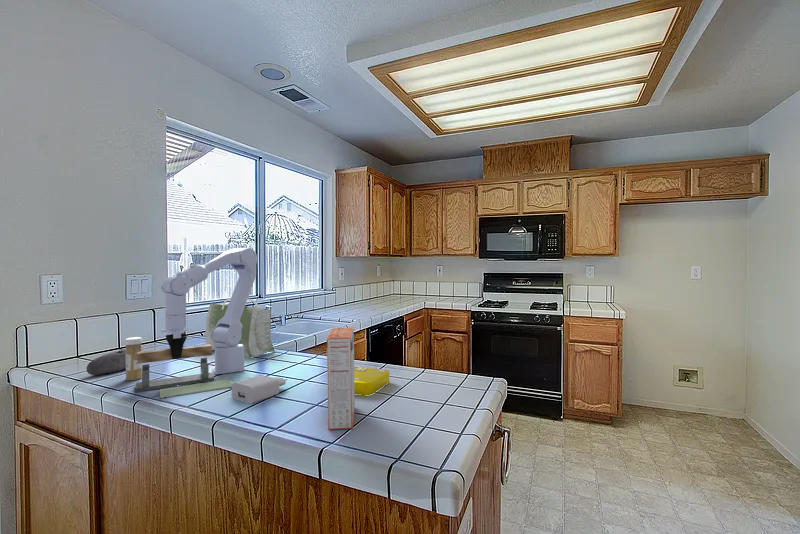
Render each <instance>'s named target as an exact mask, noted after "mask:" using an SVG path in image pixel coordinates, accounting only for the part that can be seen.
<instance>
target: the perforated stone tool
mask: <svg viewBox="0 0 800 534" xmlns="http://www.w3.org/2000/svg"><path fill="white" fill-rule="evenodd" d="M122 370H126V349H123V350H118V351H113V352H109V353H106V354H103V355H101V356H98V357H96V358H94V359H92V360H91V361H89V362H88V364H87V366H86V373H87V374H89V375H91V376H101V375H106V374H105V373H109V374H112V373H113V374H114V373H117V371H118V372H120V371H122Z"/></svg>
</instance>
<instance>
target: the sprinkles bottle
mask: <svg viewBox="0 0 800 534" xmlns="http://www.w3.org/2000/svg"><path fill="white" fill-rule="evenodd" d="M142 343H143V338H142V336H141V337H140V336H133V337H132V336H131V337H128V338H127V337H126V338H125V340H124V344H125V350H126V369H125V380H126V381H129V382H131V381H137V380H140V379H142V365H143V363H140V364H137V353H138V352H141V351H142ZM130 380H131V381H130Z"/></svg>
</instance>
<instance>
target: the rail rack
mask: <svg viewBox="0 0 800 534" xmlns="http://www.w3.org/2000/svg"><path fill="white" fill-rule="evenodd" d="M209 364H210V363H209V362H208V357H207V356H202V357H200V373H198V374H197V373H196V374H190V375H182V376H176V377H168V378H160V379H154V380H153V379H151V380H150V363H142V378H141V381H138V382H136V383H135V388H134V389H135V393H137V392H138V393H139V392H145V391H146V390H147V391H151V389H154V390H159V389H158V388H160V389H166V388H165V387H167V388H172V387H171V386H174V387H178V386H177V385H181V386H187V385H193V383H194V384H200V382H201V383H207V382H214V381H215V376H214V374H213V372H209V369H210V368H209V367H210V365H209ZM186 384H187V385H186ZM147 391H146V392H147Z"/></svg>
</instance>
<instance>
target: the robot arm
mask: <svg viewBox="0 0 800 534" xmlns="http://www.w3.org/2000/svg"><path fill="white" fill-rule="evenodd" d="M258 261H259V257H258V255H257V253H256V250H254V249H253V248H252V247H246V248H245V247H243V248H235V247H234V248H231V249H229V250H226V251H224V252H222V253H221V254H220V255H217V256H216V257H214V258H213V259H211V260H208V261H207V262H206V263H204V264H203V265H201V264H197V263H196V264H195V263H194V264H190V265H189V266H188V267H189V268H187V269H184V270H183V271H182V272H181V271H178V272H176V273H175V274H176V275H175V276H168V277H167V278H165V279H164V281H163V282H162V285H160V287H161V288H160V289H161V291H162V292H163V294H164V295H165V297H164V298H165V300H164V303H165V305H164V306H165V307H164V309H165V310H164V311H165V313H164V314H165V318H164V319H165V322H164V323H165V324H164V325H165V328H162V329H161V330H160V332H161V333H167V334H165V340H166V342H167V343H168V345H169V349H171V355H172V359H174V360H181V359H180V358H181V354H182V349H183V347H184V345H185V342H186V340H187V338H188V336H187V333H186V332H187V330H188V327H187V294H188V293H189V291H190V289H191V288H193V287H195V286H196V285H198V284H200V283H202V282H204V281H206V280H207V279H208V277H209V274H210V273H213V272H215V271H217V270H218V269H221V268H222V267H225V266H226V265H230V266H231V267H232V268H234V269H233V270H235V271H236V272H237V274H238V278H237V281H236V284H235V286H234V289H233V292H232V293H231V296H230V301H228V303H227V304H228V307H227V310H226V312H225V315H224V317H223V318H221V319H220V320H219V321H218V323H217V325H216V326H215V327H214V328H213V329H212V331H211V339H212V341H213V342H214V345H215V351H214V367H212V371H213V373H214V375H220V374H221V375H222V374H228V373H229V374H230V373H236V372H243V371H246V369H245V357H244V346H243V344H238V343H239V341H240V340H241V330H242V327H243V326H242V324H241V322H240V318H241V316H242V313H243V310H244V307H245V306H247V302H248V301H247V299H249V297H250V293H251V292H252V288H253V286H254V283H255V280H256V277H257V263H258Z"/></svg>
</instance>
